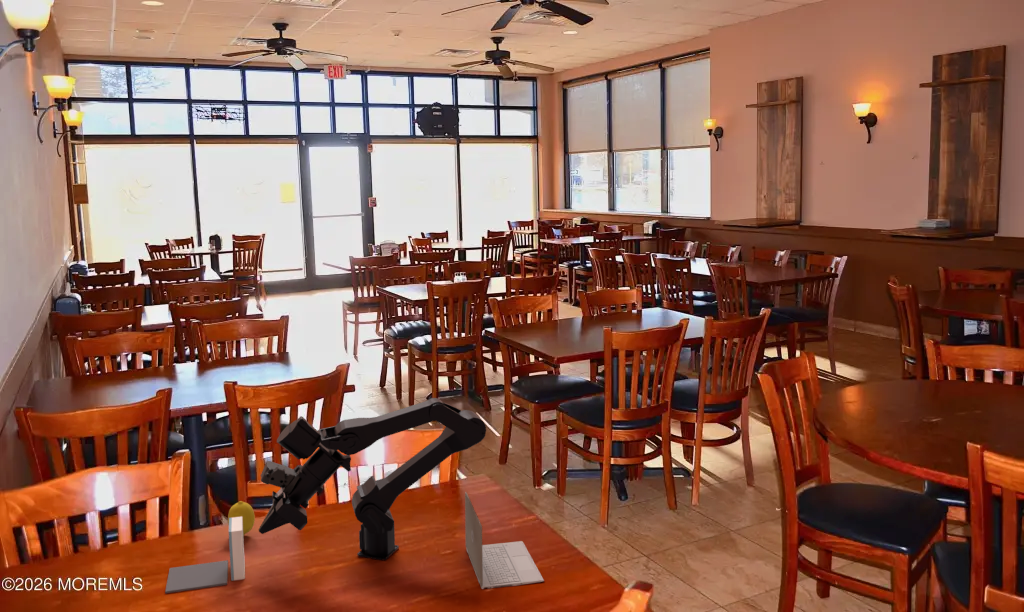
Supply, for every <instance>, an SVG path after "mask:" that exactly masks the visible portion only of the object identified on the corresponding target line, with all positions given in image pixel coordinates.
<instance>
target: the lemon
mask: <svg viewBox="0 0 1024 612" xmlns="http://www.w3.org/2000/svg"><path fill="white" fill-rule="evenodd" d="M233 517H242V520H243V537H244V536H245V535H246V534H248V533H249V532H251V530H252V529H253V527H254V525H255V520H256V518H255V517H256V516H255V512H254V509H253V507H252V506H251V504H249V503H248V502H245V501H242V500H240V501H238V502H236V503H234V504H233V505H232V506H231V507H230V509H229V510H228V515H227V524H228V526H229V518H233Z"/></svg>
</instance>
